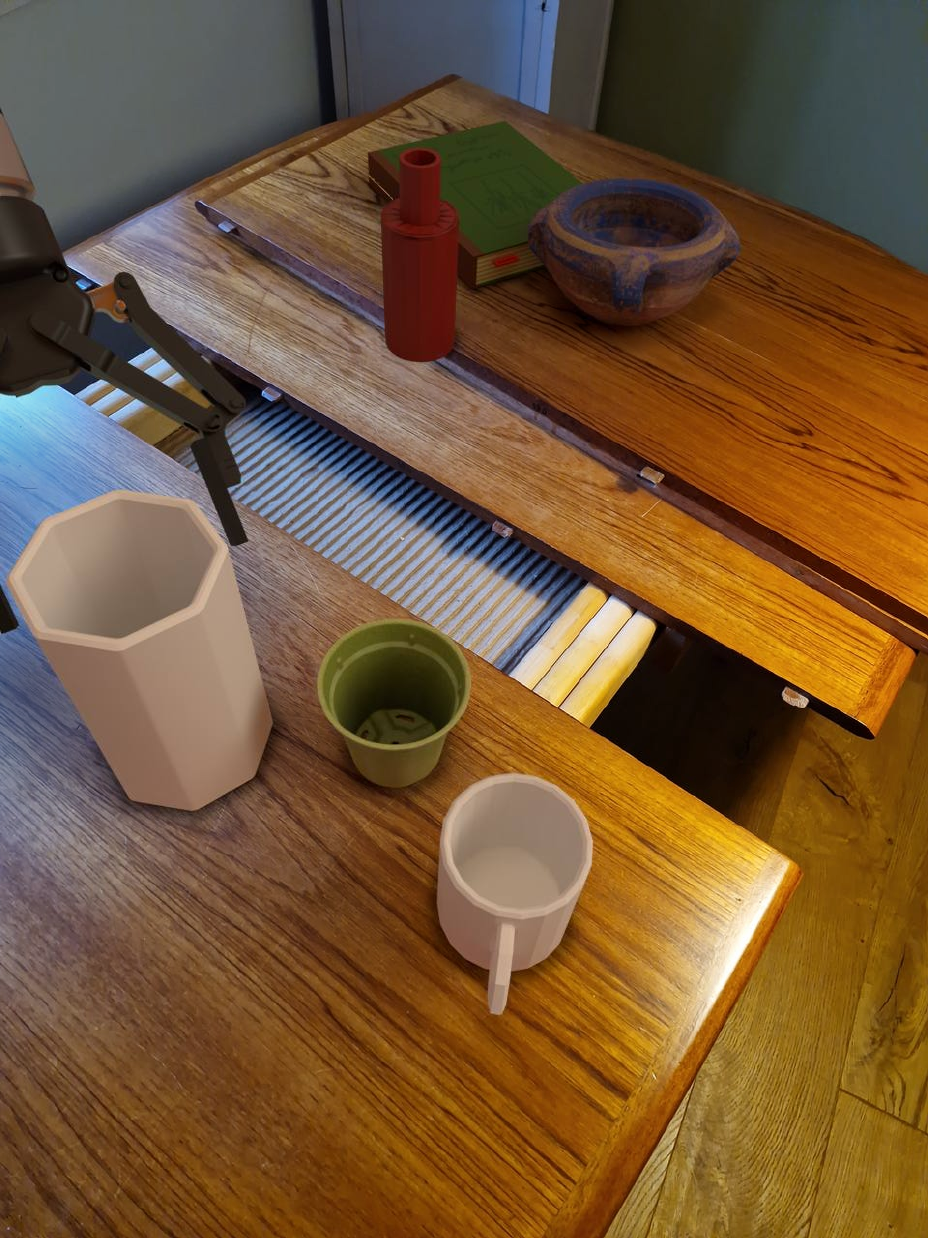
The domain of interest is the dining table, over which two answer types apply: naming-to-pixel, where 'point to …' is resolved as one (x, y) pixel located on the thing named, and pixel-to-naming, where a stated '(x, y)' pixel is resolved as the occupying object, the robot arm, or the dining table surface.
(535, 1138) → the dining table surface
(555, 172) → the book
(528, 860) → the mug
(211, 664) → the cup
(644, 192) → the bowl
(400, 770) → the plant pot
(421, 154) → the sauce bottle
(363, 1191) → the dining table surface
